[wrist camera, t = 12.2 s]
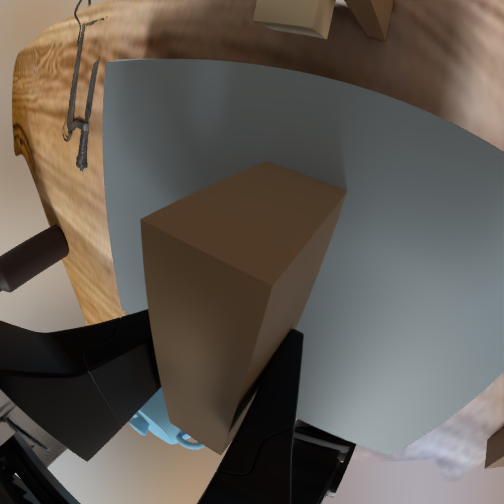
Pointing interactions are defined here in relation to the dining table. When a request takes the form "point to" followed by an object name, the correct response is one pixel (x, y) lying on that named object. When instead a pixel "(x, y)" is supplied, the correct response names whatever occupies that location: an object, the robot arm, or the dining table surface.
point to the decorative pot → (160, 422)
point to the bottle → (31, 258)
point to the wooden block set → (495, 450)
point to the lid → (303, 246)
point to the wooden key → (296, 16)
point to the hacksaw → (84, 126)
